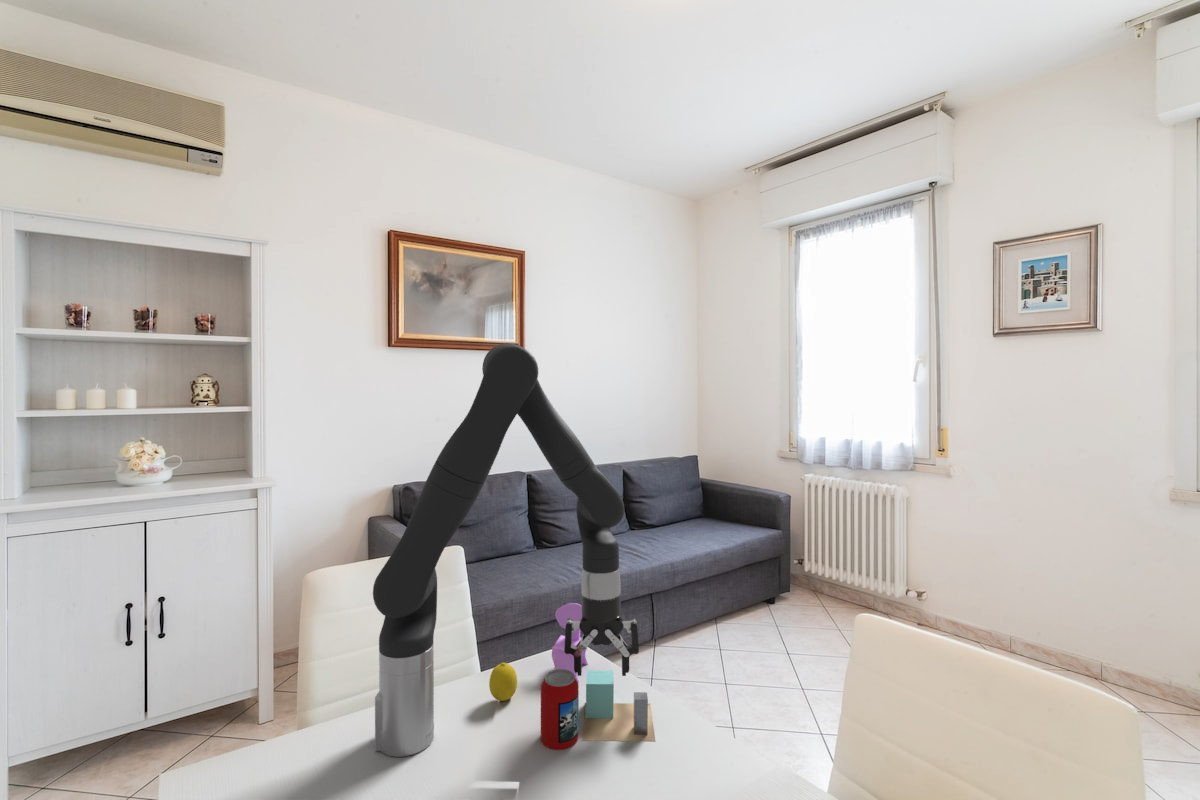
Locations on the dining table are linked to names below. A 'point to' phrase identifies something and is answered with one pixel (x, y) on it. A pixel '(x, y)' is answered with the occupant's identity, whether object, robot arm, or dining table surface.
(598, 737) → the board
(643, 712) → the post
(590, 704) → the aqua foam cube
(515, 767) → the dining table surface
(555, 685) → the beverage can
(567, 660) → the toy chair
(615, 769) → the dining table surface
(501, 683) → the lemon
